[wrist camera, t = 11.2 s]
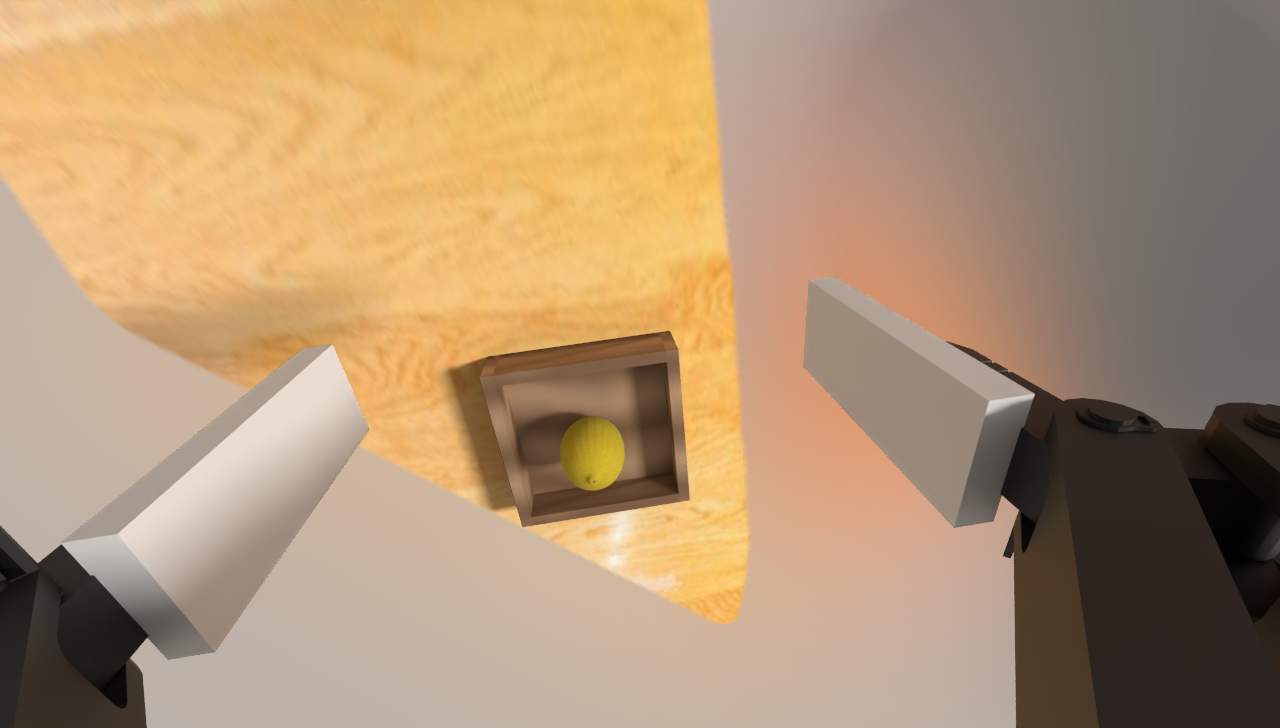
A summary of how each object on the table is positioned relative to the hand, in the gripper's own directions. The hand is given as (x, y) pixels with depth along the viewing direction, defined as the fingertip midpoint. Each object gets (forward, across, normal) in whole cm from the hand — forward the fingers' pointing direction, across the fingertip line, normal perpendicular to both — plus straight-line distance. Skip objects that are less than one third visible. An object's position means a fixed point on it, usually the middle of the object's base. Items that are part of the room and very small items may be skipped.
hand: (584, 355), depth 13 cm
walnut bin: (+26, -2, -19) cm, 32 cm away
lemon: (+25, -2, -19) cm, 32 cm away
